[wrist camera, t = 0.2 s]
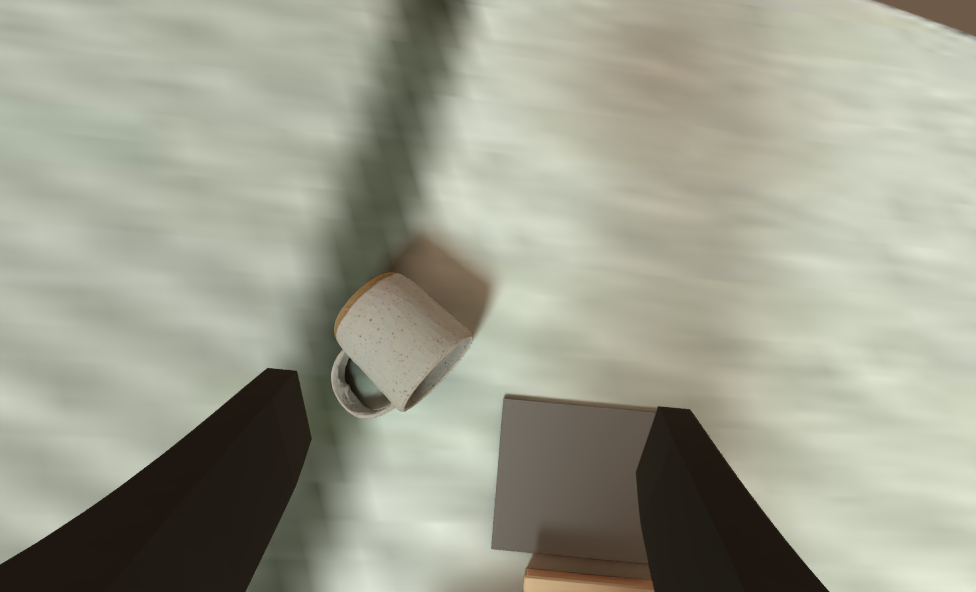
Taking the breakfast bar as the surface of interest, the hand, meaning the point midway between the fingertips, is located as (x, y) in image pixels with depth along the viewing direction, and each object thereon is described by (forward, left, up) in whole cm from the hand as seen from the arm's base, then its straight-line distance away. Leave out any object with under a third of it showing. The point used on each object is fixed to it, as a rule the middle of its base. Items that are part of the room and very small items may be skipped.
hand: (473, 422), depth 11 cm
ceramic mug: (+3, +7, -31) cm, 32 cm away
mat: (-4, -8, -31) cm, 32 cm away
